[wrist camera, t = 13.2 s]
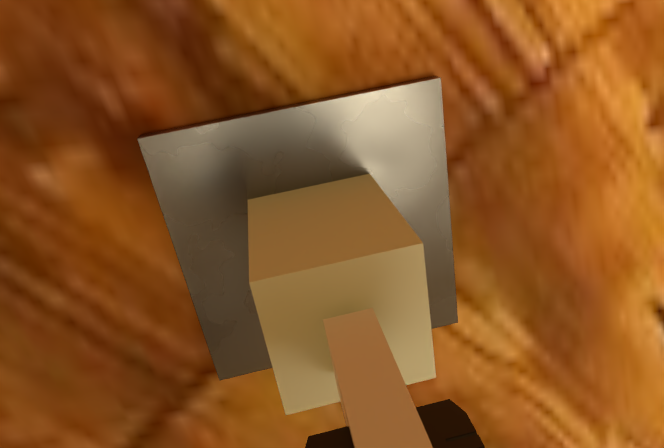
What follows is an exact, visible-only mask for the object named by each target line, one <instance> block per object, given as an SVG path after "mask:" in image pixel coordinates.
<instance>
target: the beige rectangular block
mask: <svg viewBox="0 0 664 448" xmlns="http://www.w3.org/2000/svg"><path fill="white" fill-rule="evenodd" d="M248 250H249V284H250V288H251V291H252V295H253V299H254V302H255V306H256V309H257V313H258V317H259V320H260V324H261V327H262V331H263V335H264V338H265V342H266V346H267V349H268V353H269V356H270V360H271V364H272V367H273V371H274V375H275V378H276V382H277V385H278V389H279V393H280V396H281V400H282V404H283V407H284V411H285V414H286V415H289V414H293V413H297V412H301V411H305V410H309V409H313V408H317V407H321V406H325V405H329V404H333V403H337V402H341V401H340V397H339V393H338V389H337V384H336V380H335V375H334V370H333V365H332V361H331V356H330V351H329V346H328V342H327V337H326V332H325V328H324V323H323V319H328V318H332V317H336V316H340V315H344V314H349V313H353V312H357V311H361V310H365V309H370V308H373V310H374V312H375V315H376V317H377V319H378V322H379V324H380V326H381V329H382V331H383V333H384V335H385V338H386V340H387V342H388V345H389V347H390V349H391V352H392V354H393V356H394V359H395V361H396V363H397V366H398V368H399V370H400V373H401V375H402V377H403V380H404V382H405V384H406V385H409V384H413V383H417V382H421V381H425V380H429V379H433V378H436V371H435V360H434V350H433V340H432V330H431V319H430V309H429V299H428V288H427V278H426V268H425V258H424V247H423V242H422V241H421V240H420V238H419V237H418V236H417V234H416V233H415V232H414V231H413V229H412V228H411V227H410V225H409V224H408V223H407V221H406V220H405V219H404V218H403V216H402V215H401V214H400V212H399V211H398V210H397V208H396V207H395V206H394V204H393V203H392V202H391V201H390V199H389V198H388V197H387V195H386V194H385V193H384V191H383V190H382V189H381V188H380V186H379V185H378V184H377V182H376V181H375V180H374V178H373V177H372V176H371V175H370V174H366V175H361V176H356V177H352V178H347V179H342V180H338V181H333V182H328V183H324V184H319V185H314V186H309V187H305V188H300V189H295V190H291V191H286V192H281V193H277V194H272V195H267V196H263V197H258V198H253V199H249V200H248Z"/></svg>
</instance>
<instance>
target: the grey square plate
mask: <svg viewBox="0 0 664 448" xmlns="http://www.w3.org/2000/svg"><path fill="white" fill-rule="evenodd" d="M137 140H138V143H139V146H140V148H141V151H142V154H143V157H144V160H145V163H146V166H147V169H148V172H149V175H150V178H151V181H152V184H153V187H154V189H155V192H156V195H157V198H158V201H159V204H160V207H161V210H162V213H163V216H164V219H165V222H166V225H167V228H168V231H169V233H170V236H171V239H172V242H173V245H174V248H175V251H176V254H177V257H178V260H179V263H180V266H181V269H182V272H183V274H184V277H185V280H186V283H187V286H188V289H189V292H190V295H191V298H192V301H193V304H194V307H195V310H196V313H197V316H198V318H199V321H200V324H201V327H202V330H203V333H204V336H205V339H206V342H207V345H208V348H209V351H210V354H211V357H212V359H213V362H214V365H215V368H216V371H217V374H218V377H219V380H223V379H228V378H232V377H236V376H240V375H244V374H248V373H252V372H256V371H260V370H265V369H269V368H273V367H272V364H271V360H270V356H269V353H268V349H267V346H266V342H265V338H264V335H263V331H262V327H261V324H260V320H259V317H258V313H257V309H256V306H255V302H254V299H253V295H252V291H251V288H250V284H249V250H248V200H249V199H253V198H258V197H263V196H267V195H272V194H277V193H281V192H286V191H291V190H295V189H300V188H305V187H309V186H314V185H319V184H324V183H328V182H333V181H338V180H342V179H347V178H352V177H356V176H361V175H366V174H370V175H371V176H372V177H373V178H374V180H375V181H376V182H377V184H378V185H379V186H380V188H381V189H382V190H383V191H384V193H385V194H386V195H387V197H388V198H389V199H390V201H391V202H392V203H393V204H394V206H395V207H396V208H397V210H398V211H399V212H400V214H401V215H402V216H403V218H404V219H405V220H406V221H407V223H408V224H409V225H410V227H411V228H412V229H413V231H414V232H415V233H416V234H417V236H418V237H419V238H420V240H421V241H422V242H423V247H424V258H425V268H426V278H427V288H428V299H429V309H430V319H431V329H433V328H437V327H441V326H445V325H449V324H453V323H458V316H457V302H456V288H455V274H454V260H453V245H452V231H451V217H450V203H449V189H448V174H447V160H446V146H445V132H444V118H443V103H442V89H441V78H440V77H437V76H433V77H428V78H423V79H418V80H413V81H408V82H403V83H398V84H393V85H388V86H383V87H378V88H373V89H368V90H363V91H358V92H353V93H348V94H343V95H338V96H333V97H328V98H323V99H318V100H313V101H308V102H303V103H298V104H293V105H288V106H283V107H278V108H273V109H268V110H263V111H258V112H253V113H248V114H243V115H238V116H233V117H228V118H223V119H219V120H214V121H209V122H204V123H199V124H194V125H189V126H184V127H179V128H174V129H169V130H164V131H159V132H154V133H149V134H144V135H140V136H139V137H138V139H137Z"/></svg>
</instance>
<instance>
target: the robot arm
mask: <svg viewBox="0 0 664 448" xmlns="http://www.w3.org/2000/svg"><path fill="white" fill-rule="evenodd" d="M323 323H324V328H325V332H326V337H327V342H328V346H329V351H330V356H331V361H332V365H333V370H334V375H335V380H336V384H337V389H338V393H339V397H340V401H341V405H342V410H343V414H344V418H345V422H346V426H347V427H344V428H340V429H336V430H332V431H328V432H324V433H320V434H316V435H312V436H309V437H308V440H307V443H306V446H305V448H485V447H484V444H483V443H482V441H481V439H480V437H479V435H477V433H476V430H475V428H474V426H473V425H472V423H471V421H470V419H469V417H468V415H467V414H466V412H464V411H463V410H462V409H461V408H460V407H458V406H457V405H456V404H455V403H453V402H452V401H451V400H450V399H448V400H444V401H440V402H436V403H432V404H428V405H424V406H420V407H417V408H416V407H415V405H414V403H413V400H412V398H411V396H410V393H409V391H408V389H407V386H406V384H405V382H404V380H403V377H402V375H401V373H400V370H399V368H398V366H397V363H396V361H395V359H394V356H393V354H392V352H391V349H390V347H389V345H388V342H387V340H386V338H385V335H384V333H383V331H382V329H381V326H380V324H379V322H378V319H377V317H376V315H375V312H374V310H373V308H370V309H365V310H361V311H357V312H353V313H349V314H344V315H340V316H336V317H332V318H328V319H323Z"/></svg>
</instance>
